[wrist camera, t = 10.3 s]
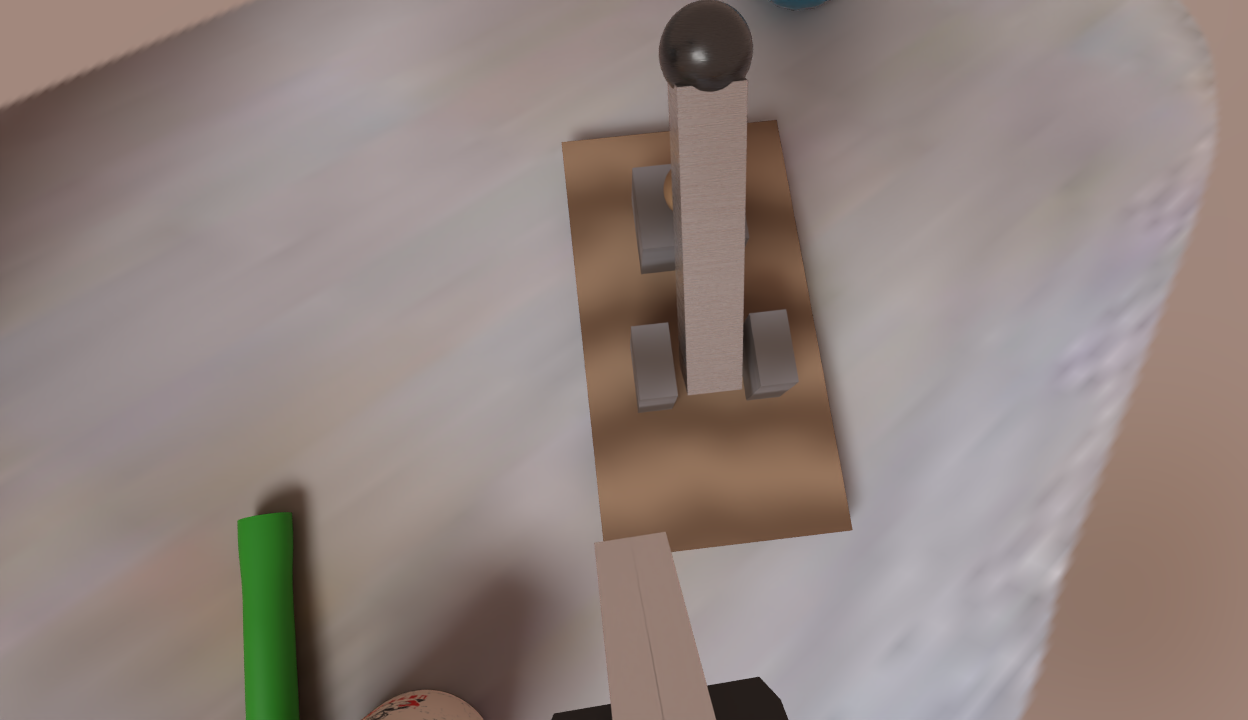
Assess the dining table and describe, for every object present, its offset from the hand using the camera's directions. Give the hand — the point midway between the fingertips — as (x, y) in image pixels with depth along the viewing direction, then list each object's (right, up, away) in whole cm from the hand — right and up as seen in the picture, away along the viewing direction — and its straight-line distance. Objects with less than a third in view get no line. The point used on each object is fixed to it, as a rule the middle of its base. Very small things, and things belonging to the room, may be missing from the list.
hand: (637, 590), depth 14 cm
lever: (+4, +5, +24) cm, 24 cm away
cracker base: (+4, +7, +29) cm, 30 cm away
